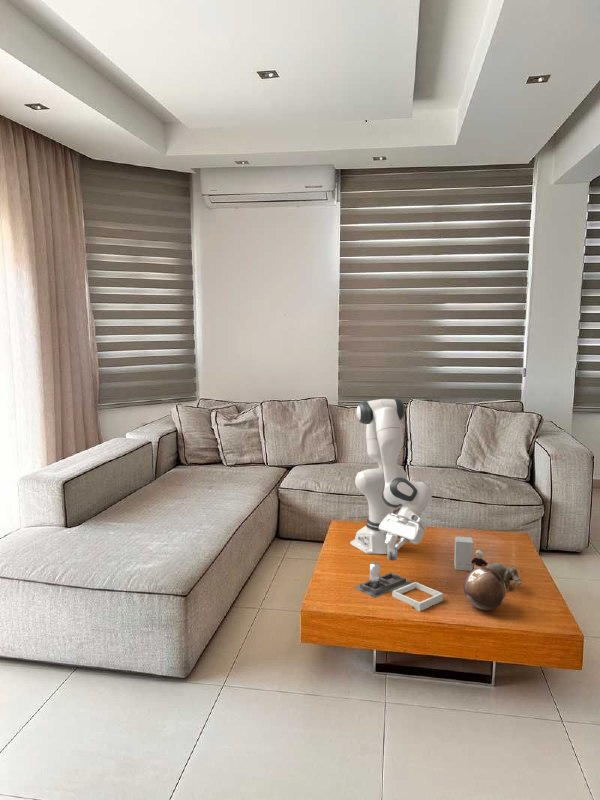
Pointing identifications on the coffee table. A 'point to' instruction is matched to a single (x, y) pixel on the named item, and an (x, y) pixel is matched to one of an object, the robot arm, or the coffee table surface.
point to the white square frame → (416, 605)
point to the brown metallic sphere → (484, 588)
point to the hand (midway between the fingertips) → (391, 546)
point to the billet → (392, 546)
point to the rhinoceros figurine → (506, 573)
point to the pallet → (384, 585)
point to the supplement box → (463, 553)
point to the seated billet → (374, 575)
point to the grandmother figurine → (478, 560)
